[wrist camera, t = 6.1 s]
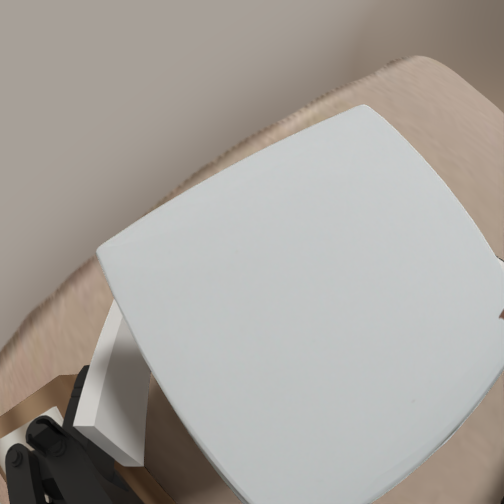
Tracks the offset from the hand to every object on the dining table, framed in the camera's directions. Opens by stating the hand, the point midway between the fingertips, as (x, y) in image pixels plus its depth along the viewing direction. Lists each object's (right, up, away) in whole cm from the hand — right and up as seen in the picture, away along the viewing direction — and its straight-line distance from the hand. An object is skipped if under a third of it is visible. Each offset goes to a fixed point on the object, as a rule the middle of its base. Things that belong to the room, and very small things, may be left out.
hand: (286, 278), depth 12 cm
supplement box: (+1, -4, +4) cm, 6 cm away
